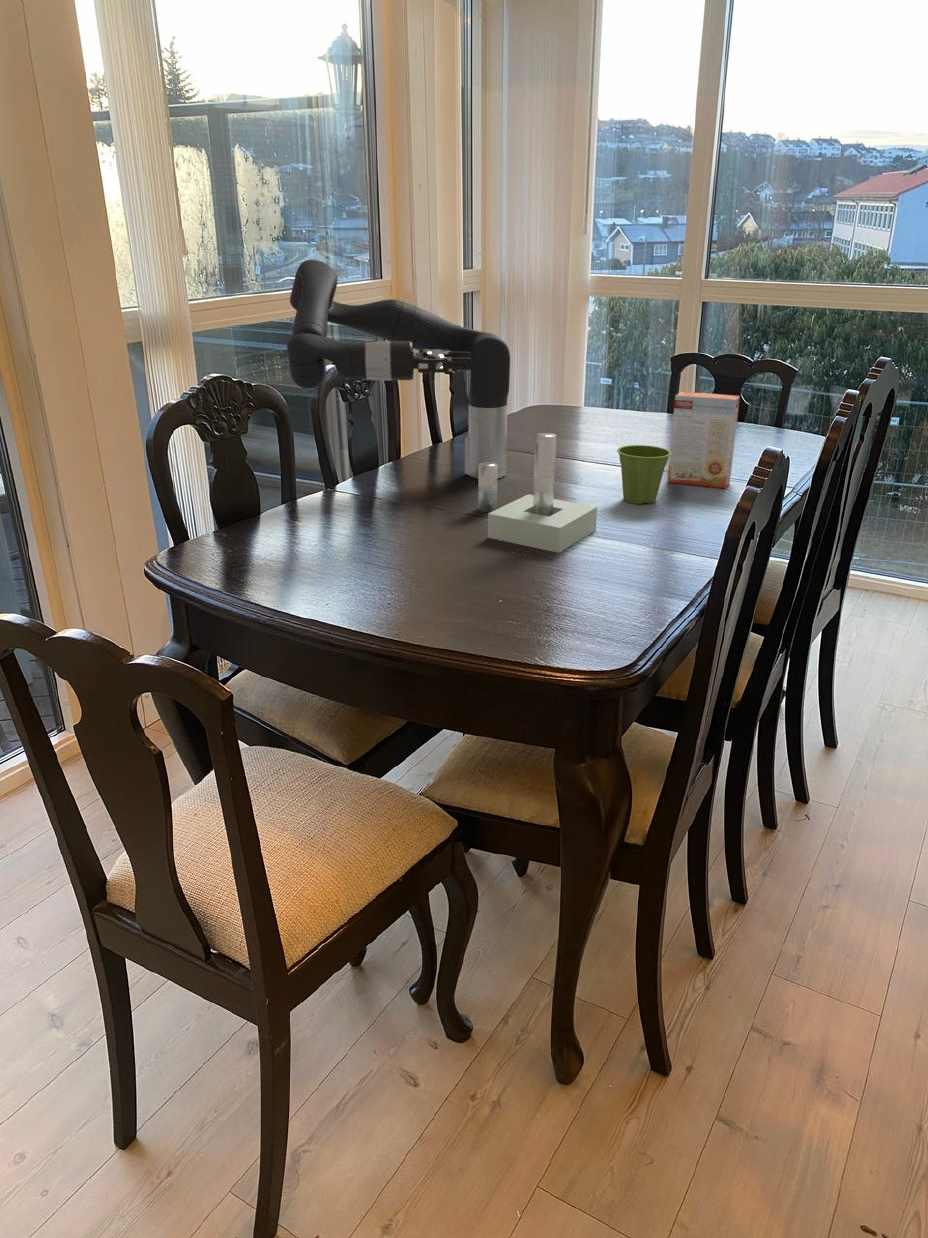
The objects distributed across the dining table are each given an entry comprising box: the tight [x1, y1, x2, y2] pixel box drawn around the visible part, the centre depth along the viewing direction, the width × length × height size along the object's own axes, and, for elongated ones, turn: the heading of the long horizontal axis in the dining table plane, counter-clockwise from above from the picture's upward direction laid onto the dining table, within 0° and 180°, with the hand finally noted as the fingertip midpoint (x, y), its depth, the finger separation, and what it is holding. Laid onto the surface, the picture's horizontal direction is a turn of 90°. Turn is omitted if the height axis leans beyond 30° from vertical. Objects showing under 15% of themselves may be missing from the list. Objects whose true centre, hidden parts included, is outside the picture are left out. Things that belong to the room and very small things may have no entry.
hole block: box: [487, 494, 598, 554], centre depth 181 cm, size 16×16×5 cm
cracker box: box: [667, 391, 741, 489], centre depth 213 cm, size 14×6×21 cm, turn 65°
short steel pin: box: [477, 462, 498, 513], centre depth 195 cm, size 4×4×10 cm
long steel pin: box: [532, 432, 557, 517], centre depth 178 cm, size 4×4×20 cm
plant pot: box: [616, 444, 672, 505], centre depth 202 cm, size 12×12×11 cm
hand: (470, 360), depth 181 cm, fingers open, 8 cm apart
